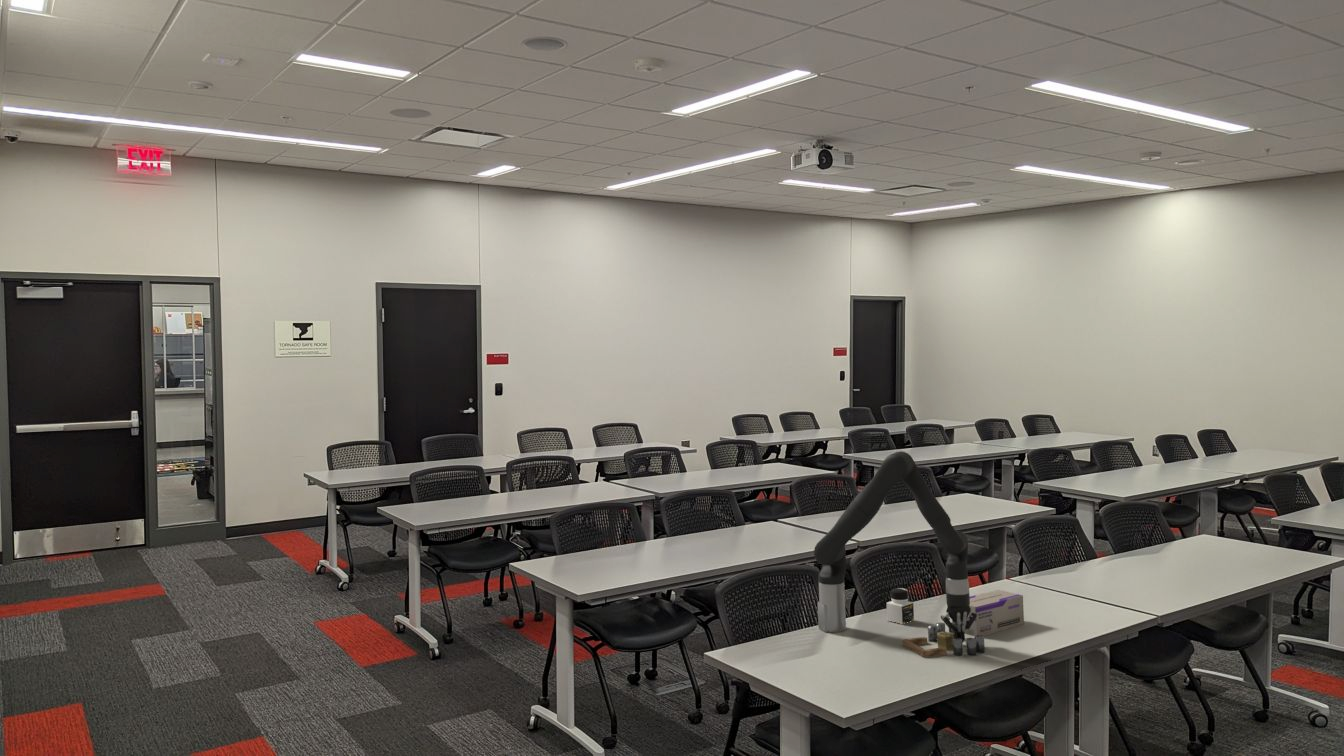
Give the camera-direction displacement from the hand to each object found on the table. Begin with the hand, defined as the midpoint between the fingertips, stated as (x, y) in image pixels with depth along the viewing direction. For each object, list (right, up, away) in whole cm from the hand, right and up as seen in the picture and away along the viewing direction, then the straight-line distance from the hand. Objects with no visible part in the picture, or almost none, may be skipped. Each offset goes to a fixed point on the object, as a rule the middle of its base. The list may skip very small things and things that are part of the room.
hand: (960, 642), depth 298 cm
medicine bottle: (-12, -2, +31) cm, 33 cm away
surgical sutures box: (+17, -1, +19) cm, 25 cm away
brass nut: (-5, -1, -2) cm, 6 cm away
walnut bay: (-12, -2, -3) cm, 13 cm away
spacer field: (-2, -1, -1) cm, 2 cm away
